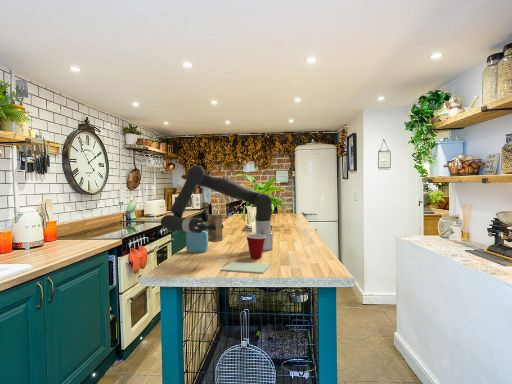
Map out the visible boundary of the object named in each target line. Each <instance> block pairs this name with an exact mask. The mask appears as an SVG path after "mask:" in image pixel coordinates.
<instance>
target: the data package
mask: <svg viewBox="0 0 512 384" xmlns="http://www.w3.org/2000/svg"><path fill="white" fill-rule="evenodd" d="M185 241H186V242H185V244H186V246H185V249H186V252H187V253H206V252H207V251H209V242H208V230H206V231H202V232H201V233H192V232H186V233H185Z"/></svg>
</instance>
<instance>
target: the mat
mask: <svg viewBox="0 0 512 384" xmlns="http://www.w3.org/2000/svg"><path fill="white" fill-rule="evenodd" d="M271 266H272V264H270V263H257V262H256V263H255V262H254V263H253V262H240V261H239V262H238V261H236V262H235V261H231V262H229V263H228V264H227V265H225V266H224V267H222V268H221V269H220V271H223V272H237V273H248V274H249V273H250V274H264V273H266V271H267V270H269V268H270V267H271Z"/></svg>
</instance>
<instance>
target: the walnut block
mask: <svg viewBox="0 0 512 384" xmlns="http://www.w3.org/2000/svg"><path fill="white" fill-rule="evenodd" d="M207 222H208V225H215V226H216V230H207V232H208V243H209V242H210V243H219V242H223V229H222V224H223V214H222V213H221V214H220V213H211V214H207Z"/></svg>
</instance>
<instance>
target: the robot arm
mask: <svg viewBox="0 0 512 384" xmlns="http://www.w3.org/2000/svg"><path fill="white" fill-rule="evenodd" d="M204 169H205V168H203V166H201V165H198V164H196V165H193V166H191V167H190V168H189V170H188V171H187V176H186V180H185V181H184V182H185V183H184V184H183V187H182V188H181V190H179V191H180V192H179V194H178V195H177V196H176V198H175V200H174V202H173V204H172V206H171V208H170V211H171V213H172V214H168V215H167V214H166V215H164V216H163V217H162V218H161V219H160V226H162V227H163V228H164V229H166V230H168V231H169V232H171V233H174V232H176V231H179V232H186V233H187V232H192V233H201V232H202V231H208V230H216V226H215V225H208V221H205V220H204V219H203V218H201V217H183V214H184V213H185V211H186V209H187V206H188V205H189V202H190V200H191V197H192V195H193V193H194V191H195V189H196V187H197V186H200V187H204V188H208V189H210V190H213V191H215V192H216V193H220V194H221V195H224V196H227V197H229V198H231V199H236V200H241V201H244V202H246V203H249V204H251V205H253V206H255V209H256V210H255V222H254V223H255V224H254V225H255V234H259V235H264V236H266V238H265V240H264V245H263V251H264V252H265V251H270V250H273V232H272V214H273V213H272V209H273V208H272V207H273V206H272V197H270V195H269V194H266V193H260V192H258V191H254V190H251V189H248V188H247V187H245V186H243V185H242V184H241V183H238V182H236V181H234V180H231V179H227V178H224V177H223V178H222V177H214V176H211V175H209V174H207V173H205V170H204ZM223 229H224V223H222V230H223ZM263 251H262V252H263Z"/></svg>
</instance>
